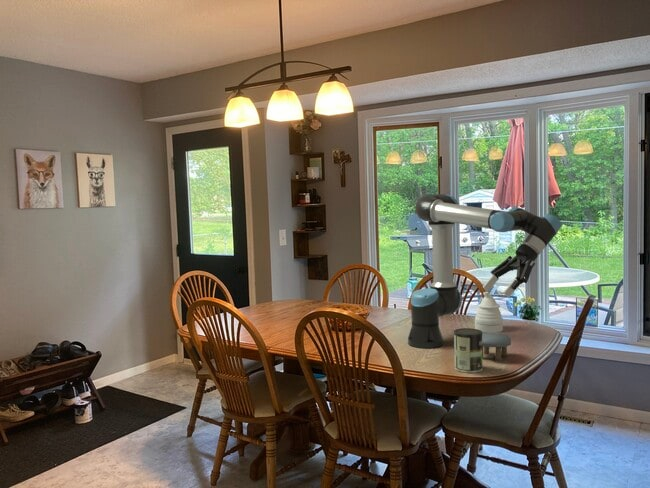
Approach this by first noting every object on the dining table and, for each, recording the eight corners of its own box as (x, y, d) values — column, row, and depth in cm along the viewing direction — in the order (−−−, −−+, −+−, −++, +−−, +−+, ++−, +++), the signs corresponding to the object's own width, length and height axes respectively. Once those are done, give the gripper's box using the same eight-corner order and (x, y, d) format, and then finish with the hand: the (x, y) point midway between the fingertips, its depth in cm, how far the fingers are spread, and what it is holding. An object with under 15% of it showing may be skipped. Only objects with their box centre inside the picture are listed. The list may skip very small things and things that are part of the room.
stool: (468, 359, 207) (468, 339, 207) (481, 350, 219) (481, 331, 218) (504, 364, 199) (504, 343, 198) (515, 355, 210) (515, 335, 210)
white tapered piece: (491, 334, 244) (491, 295, 243) (469, 329, 254) (468, 292, 253) (508, 329, 251) (508, 292, 250) (486, 324, 262) (485, 288, 260)
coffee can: (481, 364, 200) (481, 328, 199) (483, 373, 190) (483, 335, 189) (453, 363, 202) (453, 327, 201) (454, 372, 192) (454, 334, 191)
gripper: (558, 259, 188) (522, 304, 186) (516, 253, 212) (483, 293, 210) (545, 245, 187) (508, 290, 184) (504, 241, 211) (471, 281, 208)
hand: (495, 292), depth 197 cm, fingers open, 13 cm apart
